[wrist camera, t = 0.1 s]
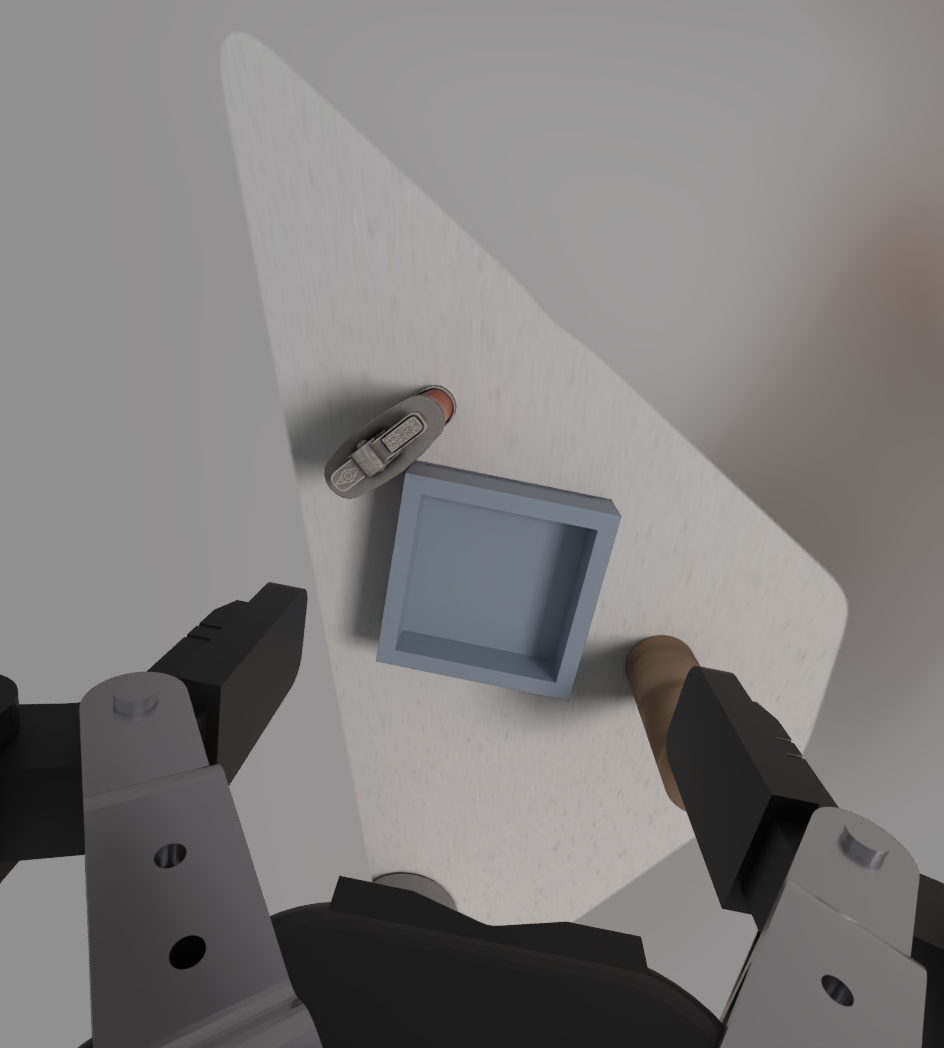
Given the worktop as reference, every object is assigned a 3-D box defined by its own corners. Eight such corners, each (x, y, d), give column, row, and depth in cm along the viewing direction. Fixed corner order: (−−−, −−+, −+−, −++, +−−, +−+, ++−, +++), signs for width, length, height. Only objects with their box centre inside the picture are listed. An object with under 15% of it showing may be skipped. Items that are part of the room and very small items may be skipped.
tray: (564, 669, 45) (568, 700, 41) (387, 633, 45) (375, 661, 41) (611, 499, 41) (621, 516, 37) (415, 460, 41) (405, 472, 37)
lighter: (377, 481, 41) (336, 524, 32) (346, 443, 41) (296, 476, 31) (467, 414, 39) (452, 438, 30) (436, 373, 39) (411, 384, 29)
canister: (683, 700, 45) (740, 823, 34) (617, 687, 45) (652, 805, 34) (704, 643, 43) (771, 751, 32) (635, 629, 44) (679, 732, 32)
